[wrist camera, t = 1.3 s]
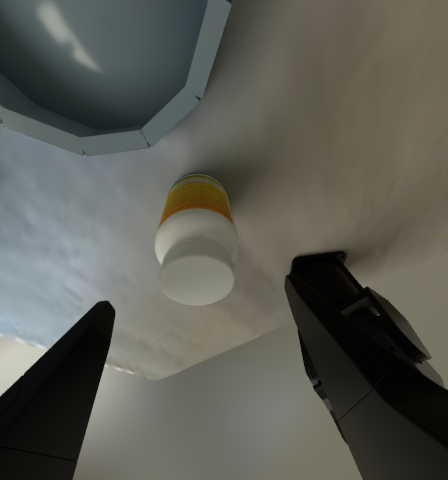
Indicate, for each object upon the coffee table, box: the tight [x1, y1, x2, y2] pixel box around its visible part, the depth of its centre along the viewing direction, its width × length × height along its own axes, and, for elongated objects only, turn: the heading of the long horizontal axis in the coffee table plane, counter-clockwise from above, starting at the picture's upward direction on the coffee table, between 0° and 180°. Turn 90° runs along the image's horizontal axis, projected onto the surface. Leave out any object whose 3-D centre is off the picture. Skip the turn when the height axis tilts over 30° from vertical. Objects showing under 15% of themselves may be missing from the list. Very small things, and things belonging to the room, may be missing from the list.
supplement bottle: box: [155, 174, 239, 305], centre depth 14 cm, size 5×5×10 cm
